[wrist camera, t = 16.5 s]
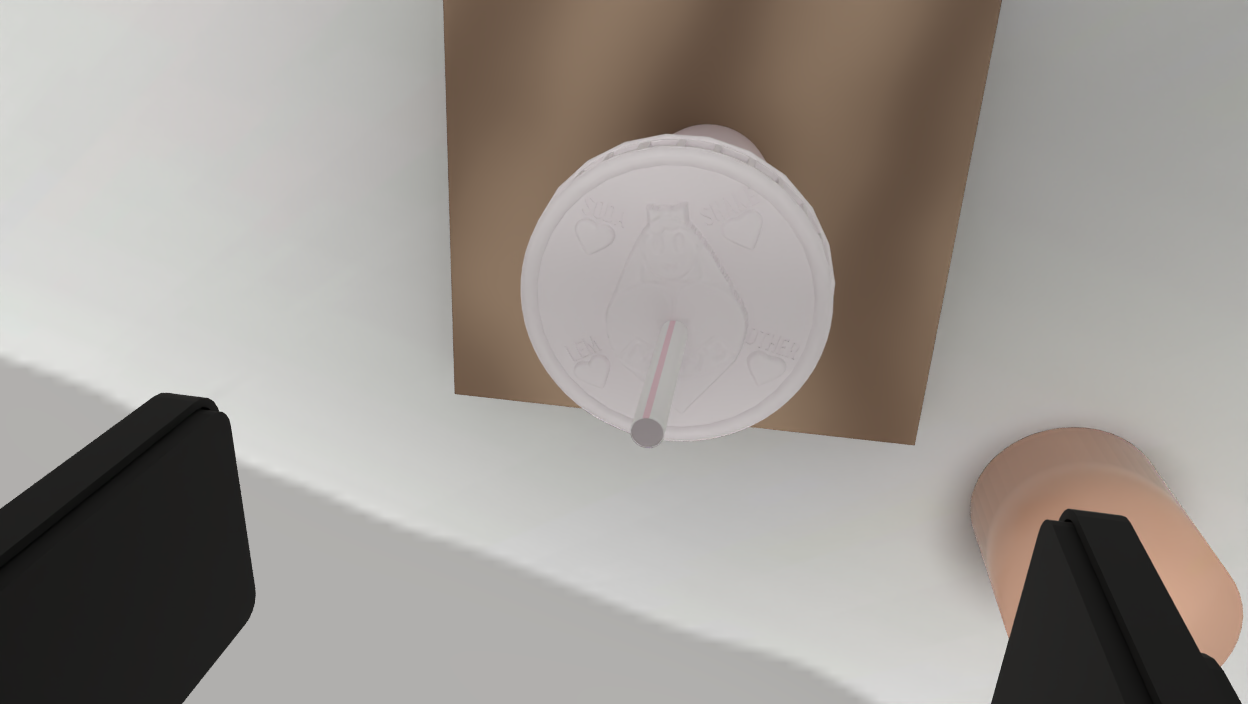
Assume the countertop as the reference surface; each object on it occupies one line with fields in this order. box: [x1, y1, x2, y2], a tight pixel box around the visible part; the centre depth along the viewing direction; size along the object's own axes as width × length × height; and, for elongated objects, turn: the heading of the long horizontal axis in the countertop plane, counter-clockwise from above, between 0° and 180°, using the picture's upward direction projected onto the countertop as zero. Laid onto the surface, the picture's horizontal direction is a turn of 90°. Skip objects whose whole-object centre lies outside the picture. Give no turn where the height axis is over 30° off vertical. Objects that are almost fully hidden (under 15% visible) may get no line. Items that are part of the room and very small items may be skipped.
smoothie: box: [521, 124, 835, 448], centre depth 21 cm, size 6×6×14 cm
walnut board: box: [443, 0, 1002, 445], centre depth 28 cm, size 15×15×2 cm
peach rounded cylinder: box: [970, 427, 1243, 667], centre depth 29 cm, size 6×6×6 cm
